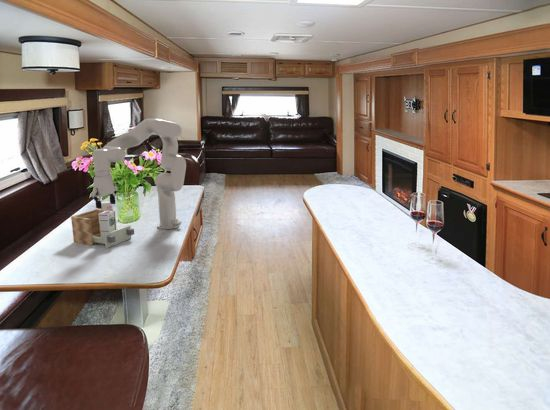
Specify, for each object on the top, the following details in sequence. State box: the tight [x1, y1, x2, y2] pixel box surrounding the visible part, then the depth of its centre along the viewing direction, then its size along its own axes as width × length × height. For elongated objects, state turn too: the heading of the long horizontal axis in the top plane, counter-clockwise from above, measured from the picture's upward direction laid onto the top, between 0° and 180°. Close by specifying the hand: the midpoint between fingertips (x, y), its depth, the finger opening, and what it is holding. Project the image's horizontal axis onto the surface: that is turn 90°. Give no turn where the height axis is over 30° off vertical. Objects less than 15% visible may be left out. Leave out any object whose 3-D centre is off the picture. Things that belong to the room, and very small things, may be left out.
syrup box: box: [98, 210, 117, 238], centre depth 263 cm, size 6×6×14 cm
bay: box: [70, 208, 117, 246], centre depth 271 cm, size 13×18×14 cm
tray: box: [93, 225, 135, 249], centre depth 266 cm, size 16×18×7 cm
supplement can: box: [97, 200, 114, 211], centre depth 293 cm, size 8×8×15 cm
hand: (106, 206), depth 261 cm, fingers open, 9 cm apart
